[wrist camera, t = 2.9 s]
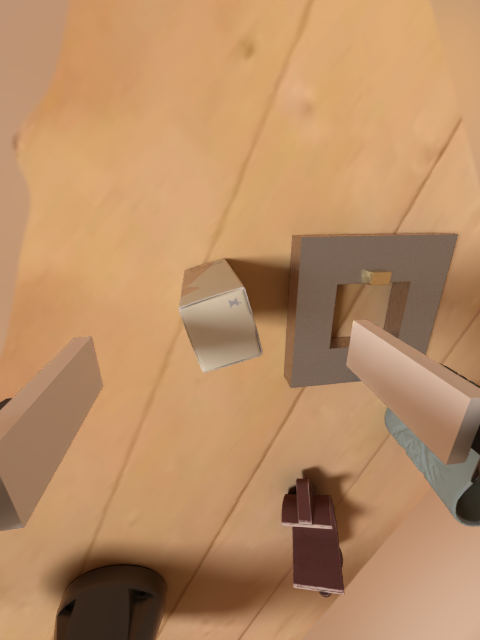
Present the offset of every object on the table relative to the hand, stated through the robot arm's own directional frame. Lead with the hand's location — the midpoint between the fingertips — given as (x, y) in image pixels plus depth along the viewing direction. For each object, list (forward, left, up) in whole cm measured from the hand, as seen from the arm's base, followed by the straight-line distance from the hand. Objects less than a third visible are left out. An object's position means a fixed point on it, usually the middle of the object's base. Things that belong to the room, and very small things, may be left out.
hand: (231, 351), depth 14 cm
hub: (+16, -3, -14) cm, 22 cm away
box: (0, 0, -14) cm, 14 cm away
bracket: (+12, -36, -15) cm, 40 cm away
